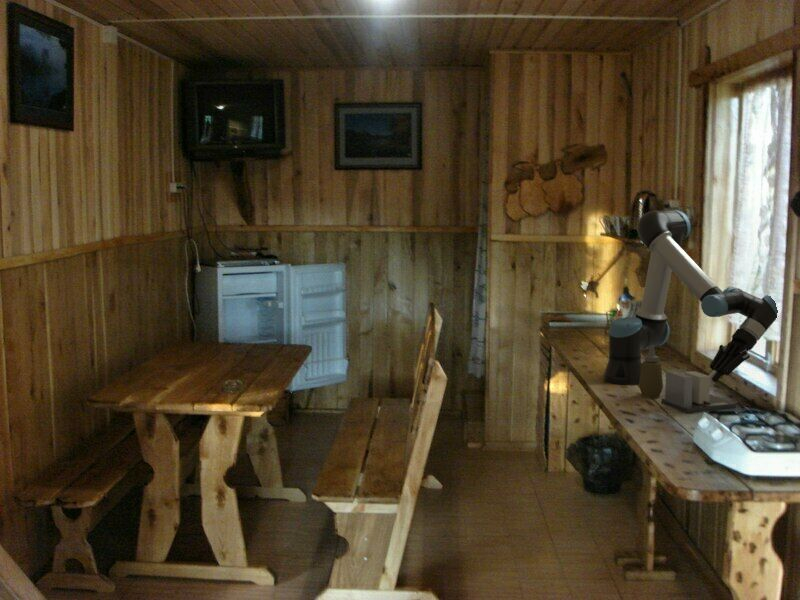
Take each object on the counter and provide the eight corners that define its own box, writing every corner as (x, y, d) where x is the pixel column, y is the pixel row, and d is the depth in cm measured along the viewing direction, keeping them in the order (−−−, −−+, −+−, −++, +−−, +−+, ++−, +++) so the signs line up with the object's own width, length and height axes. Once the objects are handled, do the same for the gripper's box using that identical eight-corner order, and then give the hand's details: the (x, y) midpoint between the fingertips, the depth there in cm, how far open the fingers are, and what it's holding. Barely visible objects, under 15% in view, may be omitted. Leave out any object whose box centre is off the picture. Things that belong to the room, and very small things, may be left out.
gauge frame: (661, 403, 277) (662, 370, 275) (708, 397, 283) (709, 365, 281) (687, 413, 264) (688, 378, 262) (736, 408, 269) (737, 373, 268)
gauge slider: (676, 399, 275) (676, 372, 274) (693, 397, 277) (694, 371, 276) (696, 406, 265) (697, 379, 264) (714, 404, 267) (715, 377, 266)
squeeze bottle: (658, 393, 290) (659, 343, 288) (666, 399, 282) (667, 347, 280) (635, 393, 290) (636, 344, 288) (643, 399, 282) (644, 348, 279)
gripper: (768, 345, 271) (724, 399, 268) (740, 338, 283) (698, 390, 280) (755, 330, 268) (711, 384, 266) (728, 324, 281) (686, 376, 278)
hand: (704, 387), depth 273 cm, fingers closed
